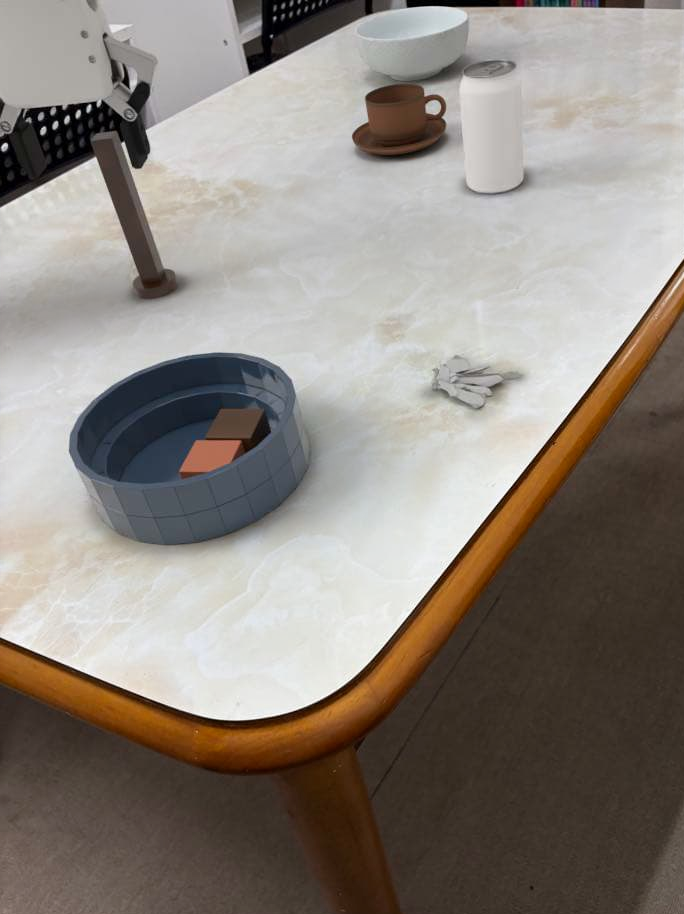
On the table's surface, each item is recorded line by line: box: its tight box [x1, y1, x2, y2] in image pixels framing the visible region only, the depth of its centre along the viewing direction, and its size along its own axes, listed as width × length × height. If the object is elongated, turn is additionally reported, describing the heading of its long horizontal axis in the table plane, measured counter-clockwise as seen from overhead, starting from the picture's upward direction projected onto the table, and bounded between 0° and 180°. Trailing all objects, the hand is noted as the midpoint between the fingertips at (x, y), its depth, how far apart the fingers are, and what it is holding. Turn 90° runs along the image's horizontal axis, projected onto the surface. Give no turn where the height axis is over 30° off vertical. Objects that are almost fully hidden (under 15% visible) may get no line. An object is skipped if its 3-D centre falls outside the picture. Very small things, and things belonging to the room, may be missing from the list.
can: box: [459, 58, 525, 195], centre depth 93 cm, size 6×6×12 cm
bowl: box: [68, 351, 311, 546], centre depth 63 cm, size 16×16×6 cm
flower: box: [430, 354, 524, 409], centre depth 68 cm, size 8×8×3 cm
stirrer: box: [89, 130, 179, 300], centre depth 83 cm, size 4×4×15 cm
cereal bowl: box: [354, 5, 470, 82], centre depth 128 cm, size 17×17×7 cm
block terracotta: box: [179, 440, 246, 479], centre depth 60 cm, size 4×4×4 cm
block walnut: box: [205, 409, 271, 453], centre depth 63 cm, size 4×4×4 cm
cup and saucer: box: [351, 83, 447, 156], centre depth 107 cm, size 12×12×6 cm
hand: (89, 168), depth 78 cm, fingers open, 9 cm apart
